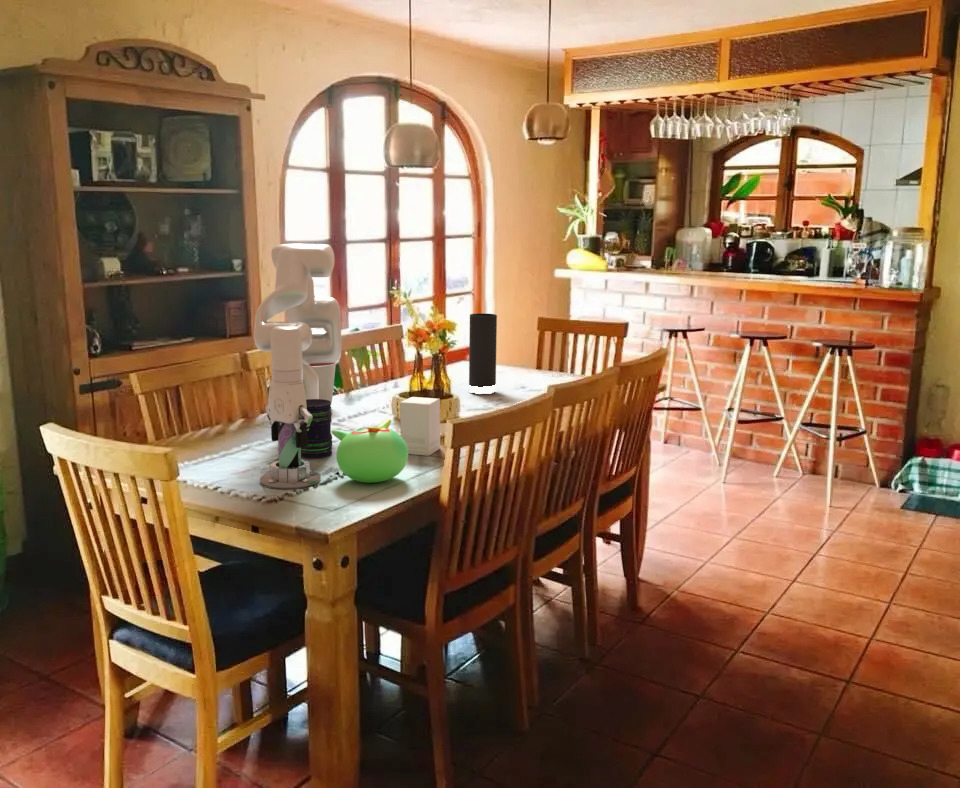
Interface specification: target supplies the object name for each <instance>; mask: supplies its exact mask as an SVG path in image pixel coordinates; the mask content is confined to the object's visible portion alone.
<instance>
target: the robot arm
mask: <svg viewBox="0 0 960 788" xmlns="http://www.w3.org/2000/svg"><path fill="white" fill-rule="evenodd" d="M270 254H271V261H272V263H273V265H274V267H275V269H276V272H275V283H274V284H275V285H274V286H275V287H274V290H273V291H272V292H271V293H269V294H268V295H267V296H266V297H265V298H264V299H263V300H262V302H261V303H260V304H259V306H258V307H257V310H256V312H255V317H254V318H255V319H254V327H253V328H254V331H253V340H254V345H255V347H256V349H258V350H259V351H261V352H265V353H266V352H268V353H269V352H270V364H271V380H270V383H269V389H268V403H267V405H265V407H264V408H265V411H266V413H267V419H268V420H269V423H268V424H269V426H270V433H271V436H270V437H271V438H270V439H271V441H272V442H278V422H282V423H286V424H294V425H295V427H296V429H297V431H298V432H296V448H301V447H305V446H307V445H308V439H307V431H308V430H309V427H310V426H311V421H312V418H313V416H312V415H311V414H310V413H309V412H308V411H307V405H306V400H307V399H319V382H318V376H317V374H316V372H315V371H314V370H313V368H312V367H311V366H310V365H309V364H310V363H334V362H337V363H338V361H339V360H340V359H341V357H342V352H343V351H342V349H343V348H342V347H343V345H342V321H341V319H342V318H341V308H340V304H339V302H338V300H337V299H336V298H334V297H331V296H315V289H314V287H315V286H314V284H315V283H314V279H313V278H329V277H330V276H331V275H332V272H333V271H334V268H335V262H336V259H335V252H334V250H333V248H332V247H331V245H330V244H325V243H323V244H322V243H321V244H319V243H317V244H315V243H283V244H282V243H281V244H277V245H275V246H273V247H272V249H271V253H270ZM283 312H285V320H286V321H270V320H271V319H272V318H273V317H275V316H276V315H277V314H281V313H283ZM314 329H315V330H316V329H318V330H319V329H320V330H323V331H313V330H314ZM297 419H298V420H297ZM299 423H301V424H302V425H301V426H300V425H299ZM331 424H332V419H331Z"/></svg>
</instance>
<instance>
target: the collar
mask: <svg viewBox="0 0 960 788" xmlns="http://www.w3.org/2000/svg"><path fill="white" fill-rule="evenodd" d="M310 465H311V464H310V461H308V460H307V459H306V460H305V459H301V466H299V467H294V468H281V467H279V460H275V461H273V462H271V463H270V472H268V473H267V472H266V473H265V474H263V475H261V476H260V478H259V483H260V485H261V486H262V487H265V488H268V489H274V490H295V489H294V488H299V489H303V487H305V488H308V487H313V486H314V485H317V484H318V483H320V482H321V479H322V476H321V474H320V473H319V472H317V471H314V470H312V469H311V468H310V467H311V466H310Z"/></svg>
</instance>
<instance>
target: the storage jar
mask: <svg viewBox="0 0 960 788" xmlns="http://www.w3.org/2000/svg"><path fill="white" fill-rule="evenodd" d="M306 405H307V411H308V412H309V413H310V414H311V415H312V416H313V418H312V421H311V426H310V427H309V430H308V431H307V439H308V445H307V446H305V447H301V459H302V460H305V459H306V460H321V459H326V458H329V457H331V456H332V455H333V451H332V449H333V434H332V427H331V425H332V423H331V420H332V406H331V405H332V403H331V401H329V400H324V399H307V400H306ZM301 425H302V424H301V423H300V426H301Z"/></svg>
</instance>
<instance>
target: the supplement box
mask: <svg viewBox="0 0 960 788" xmlns="http://www.w3.org/2000/svg"><path fill="white" fill-rule="evenodd" d="M399 407H400V408H399V409H400V410H399V411H400V413H399V415H400V416H399V417H400V418H399V421H400V436H401V437H402V438H403V439H404V441H405V442H406V445H407V448H408V455H418V456H427V457H429V456H430V455H432V454H434V453H435V452H437V451H439V450H440V449H441V414H440V413H441V399H440V398H435V397H434V398H433V397H419V396H418V397H417V396H411V397H408V398H406V399H404V400H402V401H400V402H399Z"/></svg>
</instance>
